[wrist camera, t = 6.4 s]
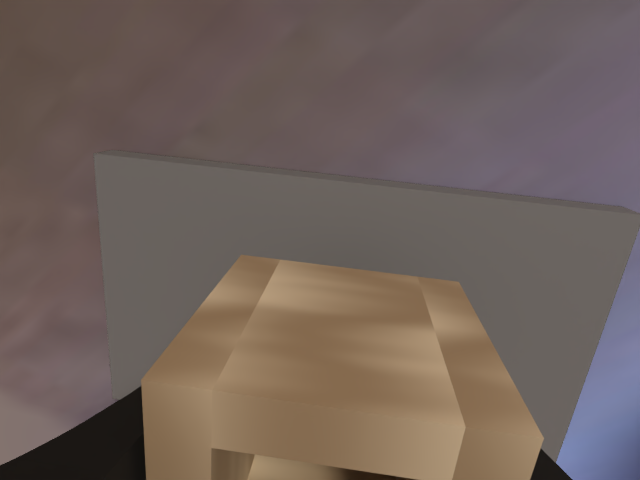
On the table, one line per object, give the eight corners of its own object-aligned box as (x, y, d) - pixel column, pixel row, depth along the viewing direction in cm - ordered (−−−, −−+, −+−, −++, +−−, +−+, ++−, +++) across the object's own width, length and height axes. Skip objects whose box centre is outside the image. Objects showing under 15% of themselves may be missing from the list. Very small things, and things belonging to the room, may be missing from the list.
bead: (459, 281, 10) (543, 438, 5) (420, 454, 12) (460, 688, 7) (241, 254, 10) (141, 379, 6) (234, 426, 12) (154, 632, 7)
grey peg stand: (622, 206, 13) (825, 286, 7) (543, 442, 15) (644, 629, 10) (112, 149, 13) (-59, 181, 8) (126, 381, 16) (8, 521, 11)
